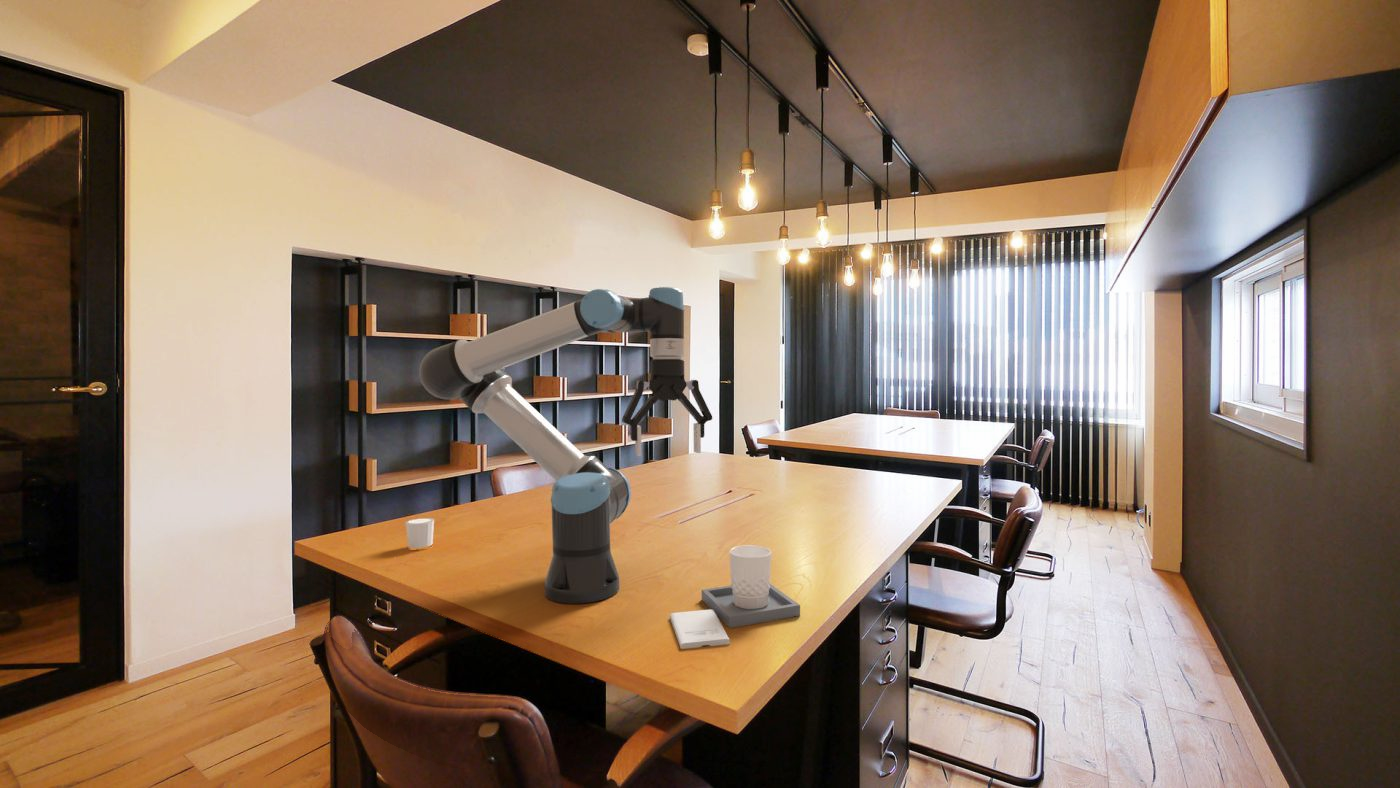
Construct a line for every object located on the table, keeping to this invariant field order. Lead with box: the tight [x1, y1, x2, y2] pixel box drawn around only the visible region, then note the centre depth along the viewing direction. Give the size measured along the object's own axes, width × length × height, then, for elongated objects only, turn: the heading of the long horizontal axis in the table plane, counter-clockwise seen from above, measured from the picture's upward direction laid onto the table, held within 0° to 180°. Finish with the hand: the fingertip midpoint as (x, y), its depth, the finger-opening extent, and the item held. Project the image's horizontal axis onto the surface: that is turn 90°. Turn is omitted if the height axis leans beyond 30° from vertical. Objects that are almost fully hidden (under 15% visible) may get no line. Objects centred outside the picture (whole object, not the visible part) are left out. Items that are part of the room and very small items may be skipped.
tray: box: [701, 583, 801, 629], centre depth 115 cm, size 14×14×2 cm
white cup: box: [729, 544, 772, 609], centre depth 115 cm, size 8×8×10 cm
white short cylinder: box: [405, 517, 435, 548], centre depth 157 cm, size 7×7×7 cm
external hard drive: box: [669, 608, 731, 650], centre depth 105 cm, size 2×8×12 cm
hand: (668, 454), depth 135 cm, fingers open, 13 cm apart
